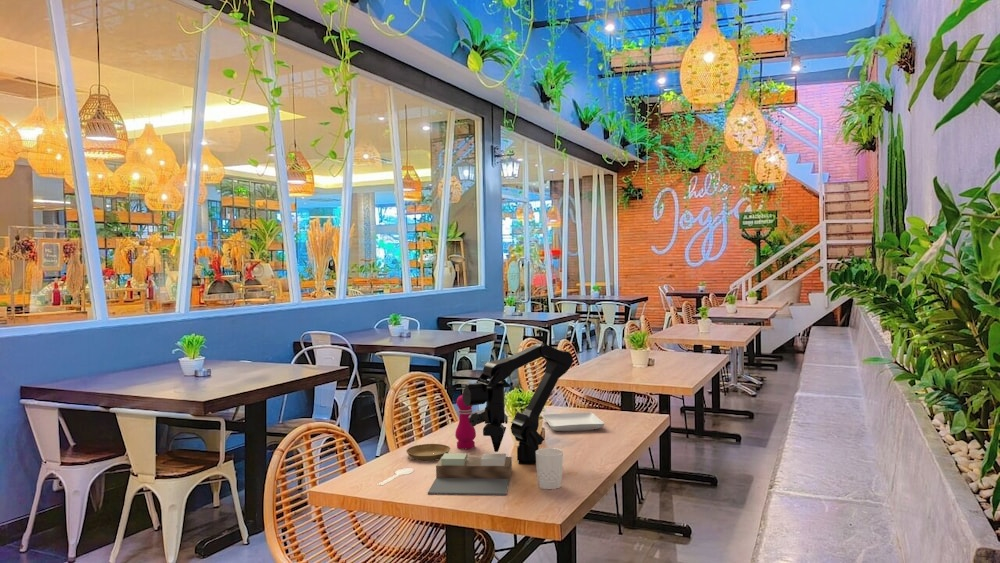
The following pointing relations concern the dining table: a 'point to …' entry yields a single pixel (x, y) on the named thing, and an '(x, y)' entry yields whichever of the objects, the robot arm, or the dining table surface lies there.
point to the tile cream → (493, 459)
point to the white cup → (549, 467)
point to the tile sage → (454, 459)
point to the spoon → (398, 474)
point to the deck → (474, 470)
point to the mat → (469, 486)
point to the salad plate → (573, 421)
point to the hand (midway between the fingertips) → (496, 451)
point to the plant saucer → (427, 452)
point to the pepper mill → (464, 426)
